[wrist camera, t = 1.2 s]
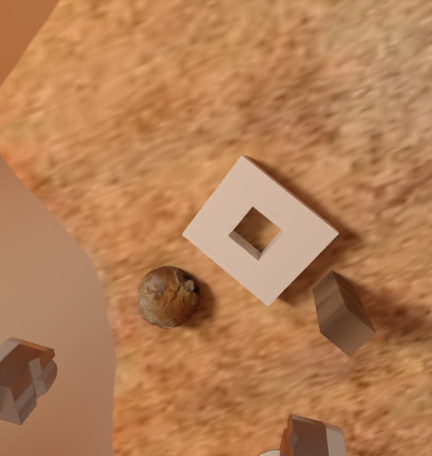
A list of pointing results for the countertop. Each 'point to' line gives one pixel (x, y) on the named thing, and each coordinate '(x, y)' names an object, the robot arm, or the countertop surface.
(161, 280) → the bread roll
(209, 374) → the countertop surface
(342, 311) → the walnut peg
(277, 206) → the socket block
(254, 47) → the countertop surface
